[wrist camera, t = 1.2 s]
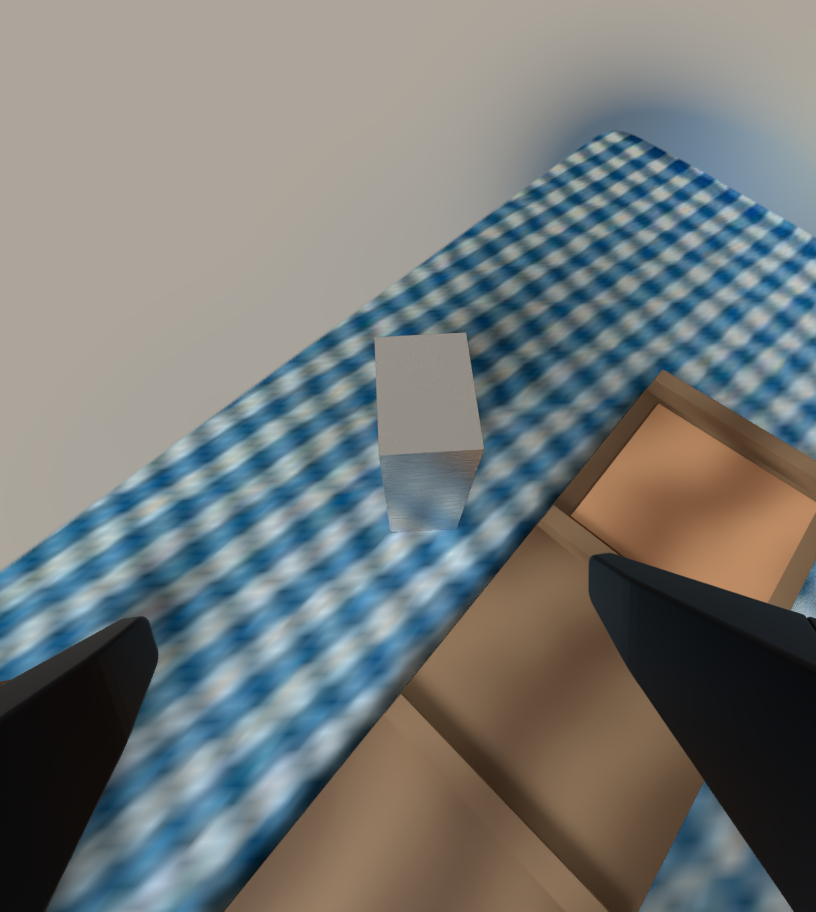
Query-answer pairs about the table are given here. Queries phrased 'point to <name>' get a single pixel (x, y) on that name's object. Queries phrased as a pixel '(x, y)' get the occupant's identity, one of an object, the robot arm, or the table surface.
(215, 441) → the table surface
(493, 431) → the table surface
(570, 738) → the rack
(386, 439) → the brushed grey box
